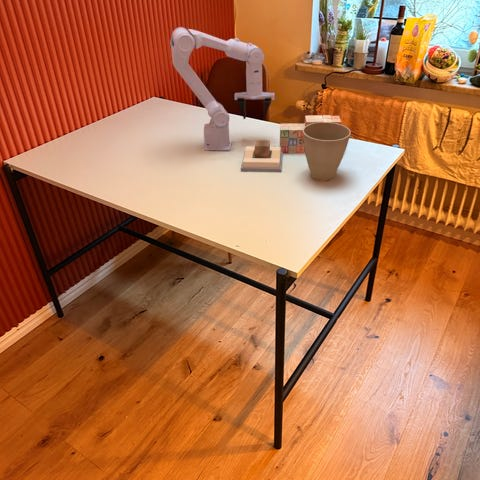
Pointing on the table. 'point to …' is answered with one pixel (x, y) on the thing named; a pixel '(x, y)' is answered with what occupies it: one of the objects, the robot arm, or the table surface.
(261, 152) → the walnut block
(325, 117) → the stack of blocks
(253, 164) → the puzzle board
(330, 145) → the plant pot
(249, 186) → the table surface
